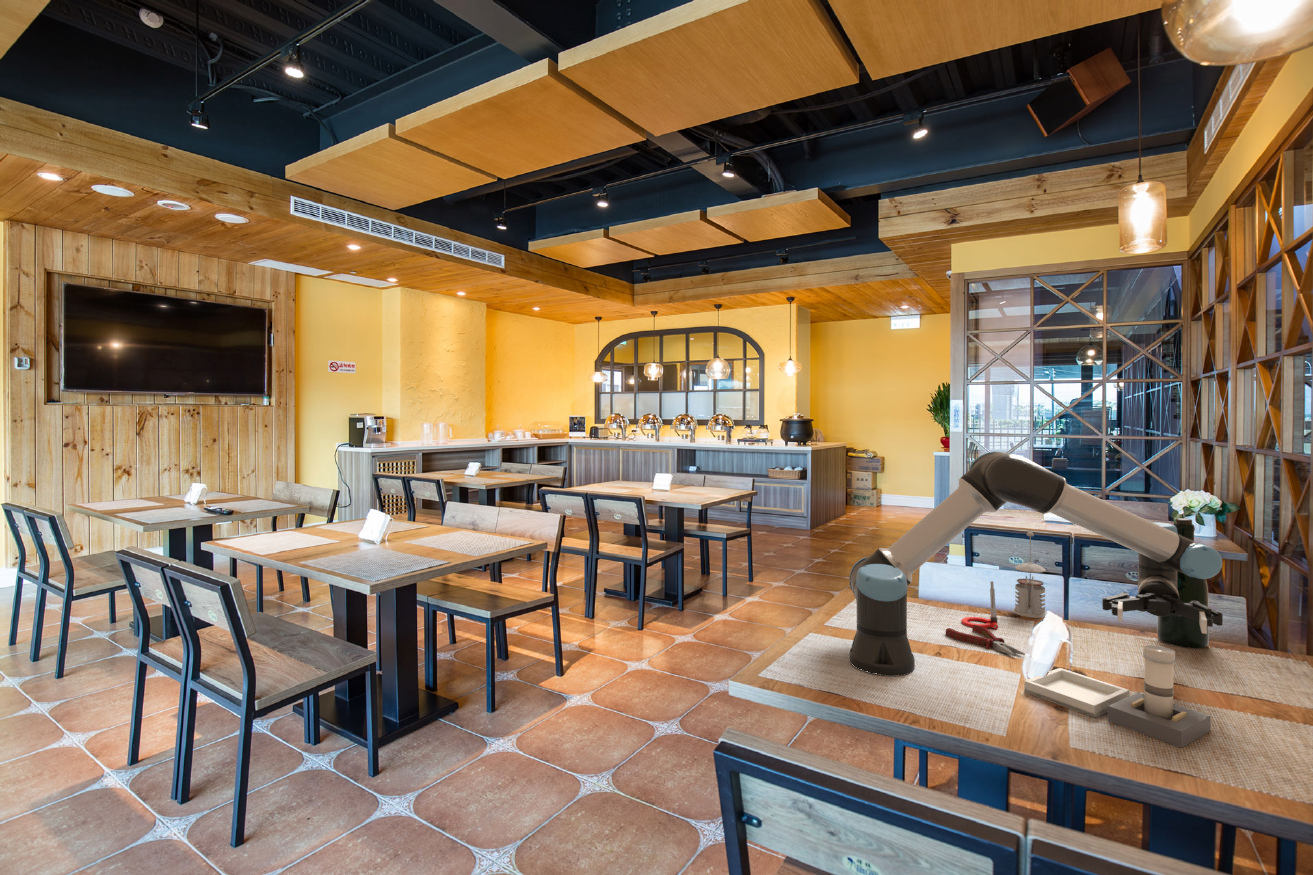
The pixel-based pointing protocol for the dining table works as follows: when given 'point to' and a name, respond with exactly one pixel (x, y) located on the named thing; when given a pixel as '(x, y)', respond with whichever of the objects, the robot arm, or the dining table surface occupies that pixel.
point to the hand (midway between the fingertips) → (1160, 620)
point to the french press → (1030, 591)
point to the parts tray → (1075, 691)
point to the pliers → (983, 640)
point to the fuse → (1158, 681)
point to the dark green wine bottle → (1189, 589)
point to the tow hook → (989, 622)
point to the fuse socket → (1160, 721)
